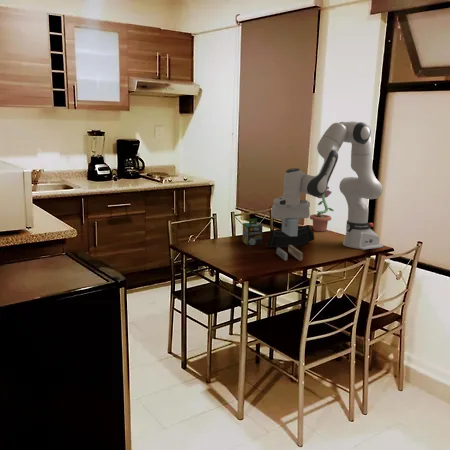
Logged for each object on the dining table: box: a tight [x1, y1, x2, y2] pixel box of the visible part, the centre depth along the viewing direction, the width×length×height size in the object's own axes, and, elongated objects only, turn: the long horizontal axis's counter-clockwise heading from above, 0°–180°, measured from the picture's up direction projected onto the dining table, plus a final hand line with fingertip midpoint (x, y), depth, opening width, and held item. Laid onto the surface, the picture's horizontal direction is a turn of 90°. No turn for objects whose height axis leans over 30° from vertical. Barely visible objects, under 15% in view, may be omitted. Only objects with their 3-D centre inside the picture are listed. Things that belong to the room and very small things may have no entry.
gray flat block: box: [275, 247, 289, 261], centre depth 245 cm, size 2×12×4 cm, turn 14°
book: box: [281, 218, 299, 236], centre depth 243 cm, size 4×12×8 cm, turn 14°
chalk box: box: [242, 218, 263, 246], centre depth 270 cm, size 9×9×15 cm
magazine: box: [266, 224, 315, 248], centre depth 266 cm, size 17×3×30 cm
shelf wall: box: [287, 245, 304, 262], centre depth 247 cm, size 2×16×4 cm, turn 14°
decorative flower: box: [309, 185, 334, 232], centre depth 303 cm, size 15×14×30 cm
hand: (289, 226), depth 243 cm, fingers closed on book, 4 cm apart
